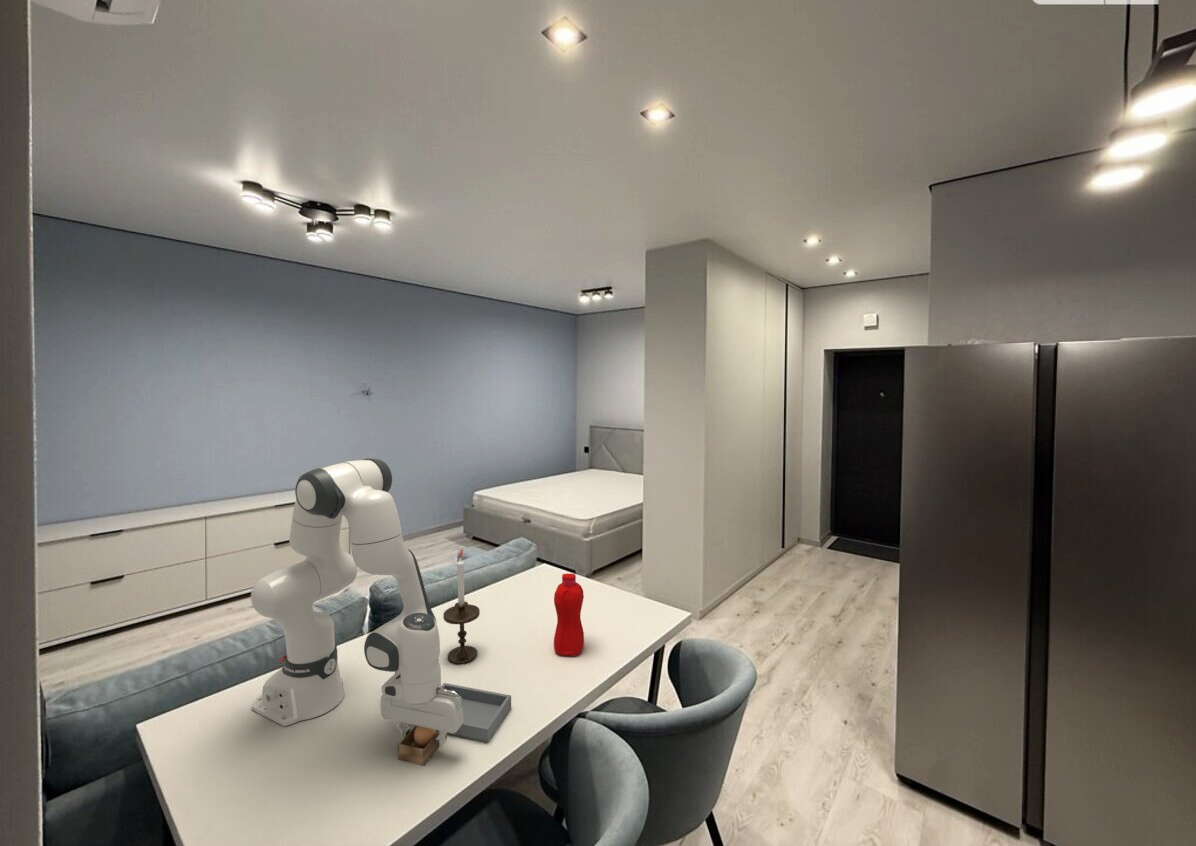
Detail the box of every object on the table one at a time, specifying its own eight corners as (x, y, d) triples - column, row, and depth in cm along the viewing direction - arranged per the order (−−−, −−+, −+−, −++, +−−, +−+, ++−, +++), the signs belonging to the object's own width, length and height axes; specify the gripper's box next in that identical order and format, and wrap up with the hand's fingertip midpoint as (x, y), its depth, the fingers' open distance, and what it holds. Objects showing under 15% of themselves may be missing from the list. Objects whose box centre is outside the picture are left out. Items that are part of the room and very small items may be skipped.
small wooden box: (398, 759, 112) (397, 744, 112) (422, 732, 121) (421, 718, 120) (424, 765, 110) (423, 750, 110) (446, 737, 119) (446, 723, 119)
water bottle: (585, 639, 163) (585, 567, 161) (581, 658, 153) (581, 581, 150) (558, 638, 164) (558, 566, 162) (552, 656, 154) (551, 579, 151)
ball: (406, 744, 114) (413, 719, 116) (418, 743, 118) (424, 719, 120) (425, 748, 112) (432, 723, 115) (436, 747, 116) (442, 722, 119)
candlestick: (478, 644, 160) (476, 540, 157) (481, 662, 150) (479, 552, 147) (444, 650, 157) (441, 544, 154) (444, 669, 147) (441, 556, 143)
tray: (415, 727, 122) (415, 714, 122) (444, 694, 135) (444, 682, 135) (488, 743, 117) (487, 729, 117) (511, 707, 130) (511, 695, 129)
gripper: (468, 684, 114) (469, 739, 116) (393, 670, 120) (395, 723, 121) (453, 701, 108) (454, 759, 110) (375, 685, 114) (377, 741, 115)
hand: (422, 740), depth 115 cm, fingers open, 8 cm apart
